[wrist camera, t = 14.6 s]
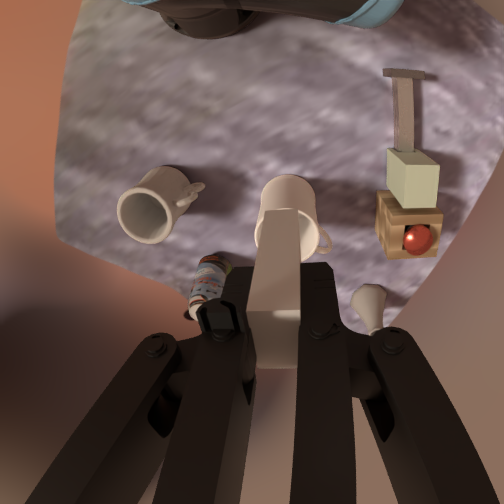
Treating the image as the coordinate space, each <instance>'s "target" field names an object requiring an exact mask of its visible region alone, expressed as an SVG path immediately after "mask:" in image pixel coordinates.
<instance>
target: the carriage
mask: <svg viewBox="0 0 504 504" xmlns="http://www.w3.org/2000/svg"><path fill="white" fill-rule="evenodd" d="M439 170H440V165H439V164H437V163H436V162H435V161H433V160H432V159H430V158H429V157H428V156H426V155H425V154H424V153H422V152H421V151H419V150H418V149H414V152H397V151H395V150H394V149H393V148H387V184H386V186H387V187H388V188H389V189H390V191H391V192H392V194H393V195H394V196H395V198H396V199H397V200H398V202H399V203H400V204H401V206H402V207H403V208H436V201H437V192H438V182H439Z"/></svg>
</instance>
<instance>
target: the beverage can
mask: <svg viewBox="0 0 504 504" xmlns="http://www.w3.org/2000/svg"><path fill="white" fill-rule="evenodd" d="M231 270H232V267H231V264H230V263H229V261H228V260H226V259H225V258H223V257H221V256H218V255H208V256H205V257H203V258H202V259H201V260H200V262H199V265H198V268H197V272H196V275H195V279H194V283H193V286H192V290H191V293H190V297H189V301H188V309H189V313H190V315H191V317H192V318H193V319H194V320H196V321H198V319H197V316H196V313H195V312H196V311H197V309H198V307H199V306H200V305H202V304H203V303H204V302H206V301H208V300H211V299H213V298H220V297H221V294H222V290H223V287H224V283H225V280H226V277H227V275H228V274H229V273H230V271H231Z"/></svg>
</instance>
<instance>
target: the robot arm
mask: <svg viewBox="0 0 504 504" xmlns="http://www.w3.org/2000/svg"><path fill="white" fill-rule="evenodd" d="M122 1H123V2H126V3H130V4H131V5H139V6H142V7H145V8H148V9H151V10H154V11H157V12H159V13H160V15H161V17H162V18H163V20H164V21H165V22H166V23H167V24H168V25H169V26H170V27H171V28H172V29H174V30H175V31H177V32H179V33H181V34H183V35H186V36H189V37H193V38H197V39H217V38H222V37H226V36H229V35H232V34H234V33H236V32H238V31H240V30H242V29H243V28H245V27H246V26H247V25H248V24H250V23H251V22H252V21H253V20H254V19H255V17H256V16H257V15H258V13H259V12H260V11H264V12H273V13H281V14H288V15H295V16H301V17H307V18H313V19H318V20H323V21H325V22H327V23H330V24H337V25H338V24H344V25H349V26H354V27H358V28H364V29H365V28H375V27H378V26H380V25H382V24H384V23H385V22H387V21H388V20H389V19H390V18H391V17H392V16H393V15H394V14H395V13H396V12H397V10H398V9H399V8H400V6H401V5H402V3H403V2H404V0H122ZM195 313H196V316H197V319H198V322H199V325H200V328H201V331H202V334H201V335H199V336H196V337H194V338H189V339H185V340H181V341H176V340H175V338H174V337H173V336H172V335H170V334H168V333H156V334H152V335H150V336H148V337H146V338H145V339H144V340H143V341H142V342H141V343H140V344H139V345H138V346H137V348H136V349H135V350H134V352H133V353H132V354H131V356H130V357H129V358H128V359H127V361H126V362H125V364H124V365H123V366H122V367H121V369H120V370H119V371H118V373H117V374H116V375H115V377H114V378H113V379H112V381H111V382H110V383H109V385H108V386H107V387H106V389H105V390H104V392H103V393H102V394H101V395H100V397H99V398H98V400H97V401H96V402H95V404H94V405H93V407H92V408H91V409H90V410H89V412H88V413H87V415H86V416H85V417H84V419H83V420H82V421H81V423H80V424H79V426H78V427H77V428H76V430H75V431H74V433H73V434H72V435H71V437H70V438H69V440H68V441H67V442H66V444H65V445H64V447H63V448H62V449H61V451H60V452H59V454H58V455H57V457H56V458H55V460H54V461H53V462H52V464H51V465H50V467H49V468H48V470H47V471H46V473H45V474H44V476H43V477H42V478H41V480H40V482H39V483H38V485H37V486H36V487H35V489H34V490H33V492H32V493H31V495H30V496H29V498H28V499H27V501H26V502H25V504H137V503H138V502H139V500H140V498H141V497H142V495H143V493H144V492H145V490H146V488H147V487H148V485H149V483H150V482H151V480H152V478H153V476H154V475H155V473H156V471H157V470H158V468H159V466H160V464H161V462H162V461H163V459H164V458H165V459H164V462H163V467H162V469H161V473H160V477H159V480H158V484H157V488H156V491H155V495H154V499H153V502H152V504H239V502H240V495H241V489H242V482H243V476H244V469H245V462H246V455H247V448H248V441H249V434H250V427H251V420H252V412H253V405H254V397H255V390H256V375H255V367H256V362H257V366H258V368H297V395H296V417H295V436H294V453H293V468H292V479H291V492H290V503H289V504H356V460H355V438H354V422H353V408H352V397H356V398H359V399H360V402H361V404H362V407H363V409H364V412H365V415H366V417H367V420H368V422H369V425H370V427H371V430H372V432H373V435H374V438H375V440H376V443H377V446H378V448H379V451H380V454H381V456H382V459H383V462H384V464H385V467H386V470H387V472H388V476H389V478H390V481H391V484H392V487H393V490H394V492H395V495H396V498H397V501H398V504H500V503H499V500H498V498H497V495H496V493H495V491H494V488H493V486H492V483H491V481H490V479H489V477H488V474H487V472H486V470H485V468H484V466H483V463H482V461H481V459H480V457H479V455H478V453H477V451H476V449H475V447H474V445H473V443H472V441H471V439H470V437H469V435H468V433H467V431H466V429H465V427H464V425H463V423H462V421H461V419H460V417H459V416H458V414H457V412H456V410H455V408H454V406H453V404H452V403H451V401H450V399H449V397H448V395H447V394H446V392H445V390H444V388H443V387H442V385H441V383H440V382H439V380H438V378H437V376H436V375H435V373H434V371H433V369H432V368H431V366H430V365H429V363H428V361H427V360H426V358H425V356H424V355H423V353H422V351H421V350H420V348H419V347H418V345H417V343H416V342H415V340H414V339H413V337H412V336H411V335H410V334H409V333H408V332H407V331H405V330H403V329H401V328H396V327H385V328H382V329H380V330H378V331H376V332H375V333H374V334H373V335H372V336H370V335H364V334H360V333H356V332H354V331H352V330H350V329H348V328H347V327H346V326H345V325H344V324H343V323H342V321H341V318H340V314H339V306H338V299H337V293H336V286H335V281H334V273H333V269H332V268H331V267H330V266H329V265H328V263H327V262H315V263H301V246H300V231H299V217H298V209H282V210H267V211H265V213H264V219H263V224H262V229H261V235H260V240H259V245H258V251H257V256H256V261H255V266H251V267H234V268H233V269H232V270H231V271H230V273H229V274H228V275H227V277H226V280H225V283H224V287H223V290H222V294H221V297H220V298H213V299H211V300H208V301H206V302H204V303H203V304H202V305H200V306H199V307H198V309H197V311H196V312H195Z"/></svg>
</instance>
